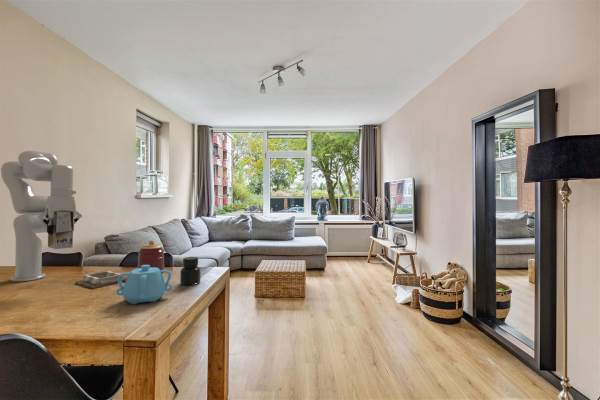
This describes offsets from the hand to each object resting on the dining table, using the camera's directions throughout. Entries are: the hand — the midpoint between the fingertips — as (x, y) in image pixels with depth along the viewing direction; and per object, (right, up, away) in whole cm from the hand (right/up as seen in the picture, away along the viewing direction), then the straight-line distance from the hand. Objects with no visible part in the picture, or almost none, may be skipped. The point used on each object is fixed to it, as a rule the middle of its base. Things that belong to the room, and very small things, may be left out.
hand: (60, 233), depth 130 cm
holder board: (+12, -24, +10) cm, 29 cm away
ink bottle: (+54, -25, +10) cm, 60 cm away
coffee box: (0, -6, 0) cm, 6 cm away
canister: (+25, -25, +29) cm, 46 cm away
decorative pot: (+44, -25, -14) cm, 53 cm away
